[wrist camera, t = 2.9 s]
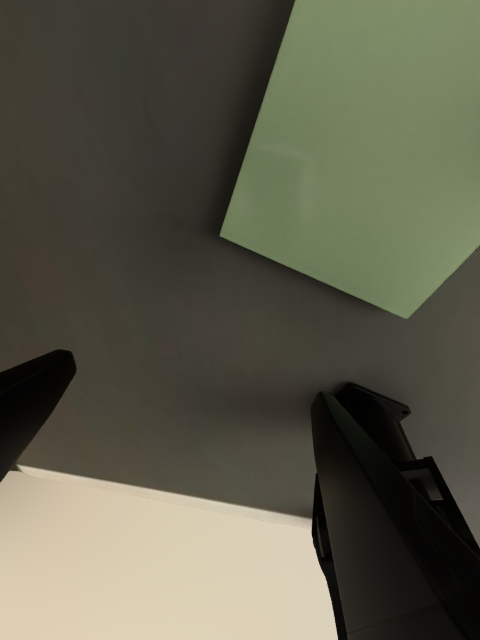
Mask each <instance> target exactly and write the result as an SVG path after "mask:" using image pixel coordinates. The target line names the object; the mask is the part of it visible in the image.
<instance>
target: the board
mask: <svg viewBox="0 0 480 640" xmlns="http://www.w3.org/2000/svg"><path fill="white" fill-rule="evenodd" d="M219 236H220V237H222V238H225V239H227V240H229V241H231V242H234V243H236V244H238V245H240V246H243V247H245V248H247V249H249V250H252V251H254V252H256V253H258V254H261V255H263V256H265V257H267V258H270V259H272V260H274V261H276V262H279V263H281V264H283V265H285V266H288V267H290V268H292V269H294V270H297V271H299V272H301V273H303V274H306V275H308V276H310V277H312V278H315V279H317V280H319V281H321V282H324V283H326V284H328V285H330V286H333V287H335V288H337V289H339V290H342V291H344V292H346V293H348V294H351V295H353V296H355V297H357V298H360V299H362V300H364V301H366V302H369V303H371V304H373V305H375V306H378V307H380V308H382V309H384V310H387V311H389V312H391V313H393V314H396V315H398V316H400V317H402V318H404V319H408V318H409V317H410V316H411V315H412V314H413V313H414V312H415V311H416V310H417V309H418V307H419V306H420V305H421V304H422V303H423V302H424V301H425V300H426V299H427V298H428V297H429V296H430V295H431V294H432V293H433V292H434V291H435V290H436V289H437V288H438V287H439V286H440V285H441V284H442V283H443V282H444V281H445V280H446V279H447V278H448V277H449V276H450V275H451V274H452V273H453V272H454V271H455V270H456V269H457V268H458V267H459V266H460V265H461V264H462V263H463V262H464V261H465V260H466V259H467V258H468V257H469V256H470V254H471V253H472V252H473V251H474V250H475V249H476V248H477V247H478V246H479V245H480V0H295V2H294V6H293V9H292V12H291V15H290V18H289V21H288V24H287V27H286V30H285V33H284V37H283V40H282V43H281V46H280V49H279V52H278V55H277V58H276V61H275V64H274V67H273V71H272V74H271V77H270V80H269V83H268V86H267V89H266V92H265V95H264V98H263V102H262V105H261V108H260V111H259V114H258V117H257V120H256V123H255V126H254V129H253V132H252V136H251V139H250V142H249V145H248V148H247V151H246V154H245V157H244V160H243V163H242V167H241V170H240V173H239V176H238V179H237V182H236V185H235V188H234V191H233V194H232V197H231V201H230V204H229V207H228V210H227V213H226V216H225V219H224V222H223V225H222V228H221V232H220V235H219Z"/></svg>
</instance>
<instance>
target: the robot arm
mask: <svg viewBox="0 0 480 640" xmlns="http://www.w3.org/2000/svg"><path fill="white" fill-rule="evenodd" d="M75 373H76V364H75V360H74V357H73V354H72V352H71V351H68V350H61V349H58V350H54V351H52V352H50V353H47V354H45V355H42V356H40V357H37V358H35V359H32V360H30V361H27V362H25V363H22V364H20V365H18V366H15V367H13V368H10V369H8V370H5V371H3V372H0V482H1V481H2V480H3V478H4V477H5V476H6V474H7V473H8V472H9V470H10V469H11V468H12V466H13V465H14V464H15V462H16V461H17V459H18V458H19V457H20V455H21V454H22V453H23V451H24V450H25V449H26V447H27V446H28V445H29V443H30V442H31V441H32V439H33V438H34V437H35V435H36V434H37V432H38V431H39V430H40V428H41V427H42V426H43V424H44V423H45V422H46V420H47V419H48V417H49V416H50V415H51V413H52V412H53V410H54V409H55V407H56V405H57V404H58V402H59V400H60V399H61V397H62V395H63V394H64V392H65V390H66V389H67V387H68V385H69V384H70V382H71V380H72V379H73V377H74V375H75ZM410 413H411V411H410V409H409V407H408V406H406V405H403V404H401V403H399V402H396V401H394V400H392V399H389V398H387V397H384V396H382V395H380V394H377V393H375V392H373V391H370V390H368V389H365V388H363V387H361V386H358V385H356V384H353V383H350V384H348V385H346V386H345V387H344V388H343V389H342V390H341V391H340V392H339V393H338V394H337V395H336V396H335V397H334V396H333V395H332V394H331V393H328V392H322V391H320V392H318V393H317V395H316V397H315V399H314V401H313V403H312V406H311V421H312V435H313V447H314V456H315V462H316V467H317V473H316V480H315V488H314V503H313V519H312V538H313V544H314V548H315V549H316V553H317V557H318V561H319V564H320V566H321V569H322V571H323V573H324V575H325V577H326V580H327V584H328V588H329V593H330V597H331V601H332V606H333V611H334V617H335V623H336V628H337V635H338V640H480V548H479V546H478V544H477V542H476V541H475V539H474V537H473V535H472V533H471V531H470V529H469V527H468V525H467V523H466V521H465V519H464V517H463V515H462V513H461V512H460V510H459V508H458V506H457V504H456V502H455V500H454V498H453V496H452V494H451V492H450V490H449V488H448V486H447V485H446V483H445V481H444V479H443V477H442V475H441V473H440V471H439V469H438V467H437V465H436V463H435V461H434V460H433V458H432V456H429V457H423V458H424V459H419V460H417V459H416V457H415V455H414V453H413V450H412V448H411V446H410V444H409V442H408V439H407V437H406V435H405V433H404V431H403V429H402V426H401V424H400V421H401V420H403V419H404V418H405V417H407V416H408V415H409V414H410ZM437 499H443V500H437Z"/></svg>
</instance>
